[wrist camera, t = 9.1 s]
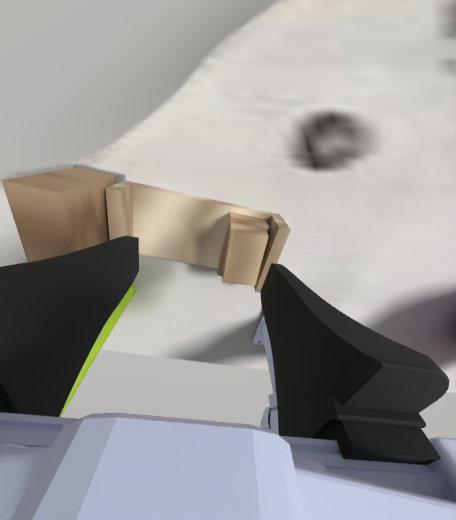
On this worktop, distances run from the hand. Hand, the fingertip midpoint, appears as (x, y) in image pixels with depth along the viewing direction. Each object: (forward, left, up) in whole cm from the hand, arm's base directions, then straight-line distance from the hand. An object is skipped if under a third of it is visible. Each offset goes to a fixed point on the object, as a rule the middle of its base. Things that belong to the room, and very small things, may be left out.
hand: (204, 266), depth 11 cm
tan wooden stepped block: (+1, +3, -10) cm, 11 cm away
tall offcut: (+11, +2, -10) cm, 14 cm away
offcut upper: (-3, +2, -7) cm, 8 cm away
